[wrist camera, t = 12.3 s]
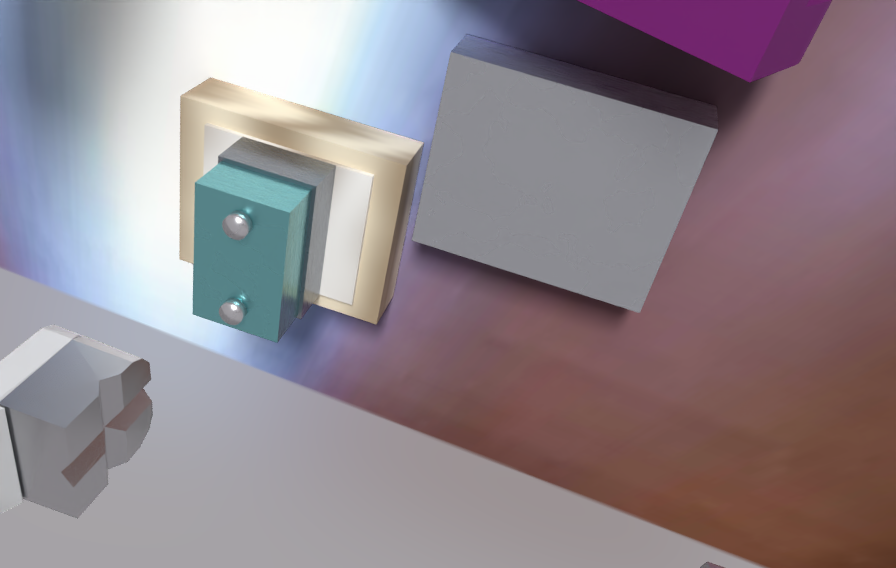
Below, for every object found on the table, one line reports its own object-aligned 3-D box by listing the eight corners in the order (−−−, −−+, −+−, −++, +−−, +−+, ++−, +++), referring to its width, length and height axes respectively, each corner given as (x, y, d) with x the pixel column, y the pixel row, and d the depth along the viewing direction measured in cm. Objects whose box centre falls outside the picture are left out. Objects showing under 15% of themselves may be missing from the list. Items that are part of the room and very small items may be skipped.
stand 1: (423, 142, 41) (404, 168, 38) (393, 295, 47) (374, 327, 44) (210, 77, 42) (177, 97, 39) (205, 234, 48) (176, 261, 45)
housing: (336, 165, 39) (288, 216, 34) (319, 294, 44) (275, 354, 39) (242, 136, 40) (183, 183, 35) (236, 266, 44) (182, 322, 40)
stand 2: (716, 106, 36) (718, 129, 34) (642, 281, 42) (639, 312, 39) (466, 34, 37) (450, 51, 35) (428, 214, 43) (411, 240, 41)
